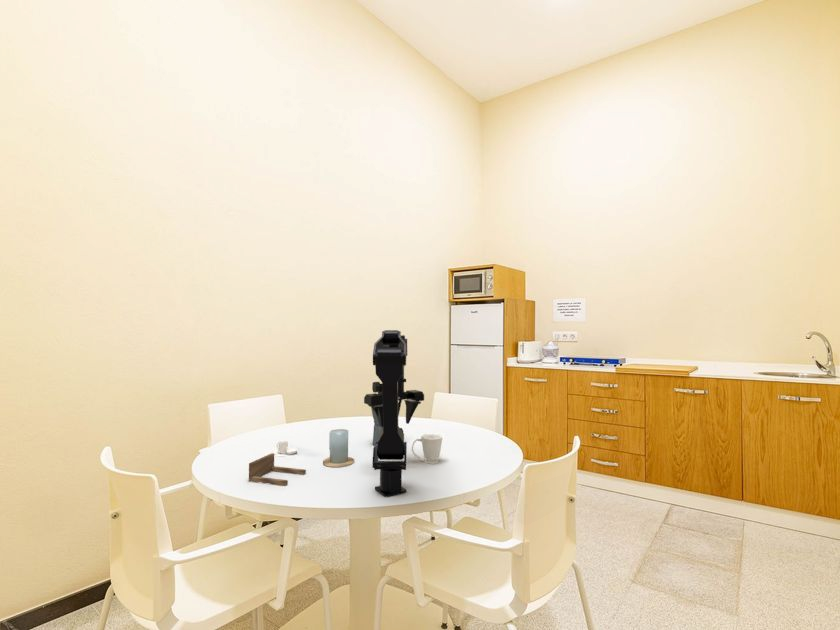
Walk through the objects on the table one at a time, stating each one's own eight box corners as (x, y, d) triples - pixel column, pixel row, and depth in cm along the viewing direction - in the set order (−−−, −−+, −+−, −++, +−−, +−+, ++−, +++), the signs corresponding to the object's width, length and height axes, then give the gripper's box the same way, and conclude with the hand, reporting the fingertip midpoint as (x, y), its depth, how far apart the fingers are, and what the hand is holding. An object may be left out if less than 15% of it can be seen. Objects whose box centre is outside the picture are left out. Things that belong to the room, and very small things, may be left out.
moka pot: (360, 445, 156) (361, 390, 157) (392, 437, 167) (392, 387, 168) (376, 450, 149) (377, 393, 150) (408, 442, 160) (408, 389, 161)
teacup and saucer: (301, 454, 146) (301, 442, 146) (279, 459, 140) (280, 447, 140) (287, 449, 152) (287, 438, 152) (266, 454, 146) (267, 442, 146)
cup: (441, 465, 133) (441, 439, 133) (410, 464, 134) (410, 438, 135) (443, 458, 140) (443, 434, 140) (413, 457, 141) (413, 433, 142)
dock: (305, 473, 125) (306, 456, 125) (285, 485, 115) (285, 467, 116) (271, 469, 129) (271, 453, 129) (248, 481, 119) (249, 463, 119)
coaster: (359, 464, 134) (359, 462, 134) (329, 469, 129) (329, 467, 129) (347, 456, 143) (347, 454, 143) (318, 460, 137) (318, 459, 137)
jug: (351, 461, 135) (351, 431, 136) (334, 464, 132) (335, 434, 132) (338, 455, 142) (339, 426, 142) (322, 458, 139) (323, 429, 139)
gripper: (407, 371, 144) (407, 417, 143) (356, 374, 134) (356, 423, 133) (425, 374, 134) (425, 423, 134) (372, 378, 124) (371, 431, 124)
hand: (394, 425), depth 131 cm, fingers open, 9 cm apart
